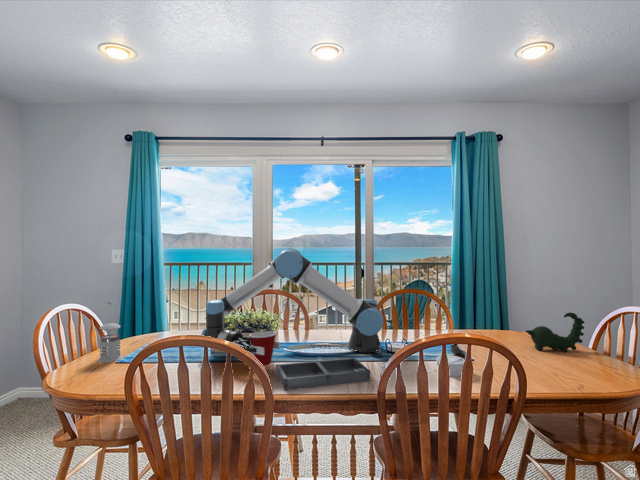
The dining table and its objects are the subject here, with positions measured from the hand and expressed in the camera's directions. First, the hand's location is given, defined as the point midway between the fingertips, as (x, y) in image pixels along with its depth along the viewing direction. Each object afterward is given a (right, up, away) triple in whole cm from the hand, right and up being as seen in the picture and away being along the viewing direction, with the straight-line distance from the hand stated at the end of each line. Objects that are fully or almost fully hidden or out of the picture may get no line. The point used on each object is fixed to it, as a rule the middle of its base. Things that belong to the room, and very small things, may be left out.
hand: (271, 348), depth 161 cm
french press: (-72, -9, +18) cm, 75 cm away
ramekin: (+70, -10, 0) cm, 71 cm away
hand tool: (+79, -9, +23) cm, 83 cm away
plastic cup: (-4, -7, +3) cm, 8 cm away
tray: (+20, -9, -6) cm, 23 cm away
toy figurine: (+127, -9, +29) cm, 131 cm away
